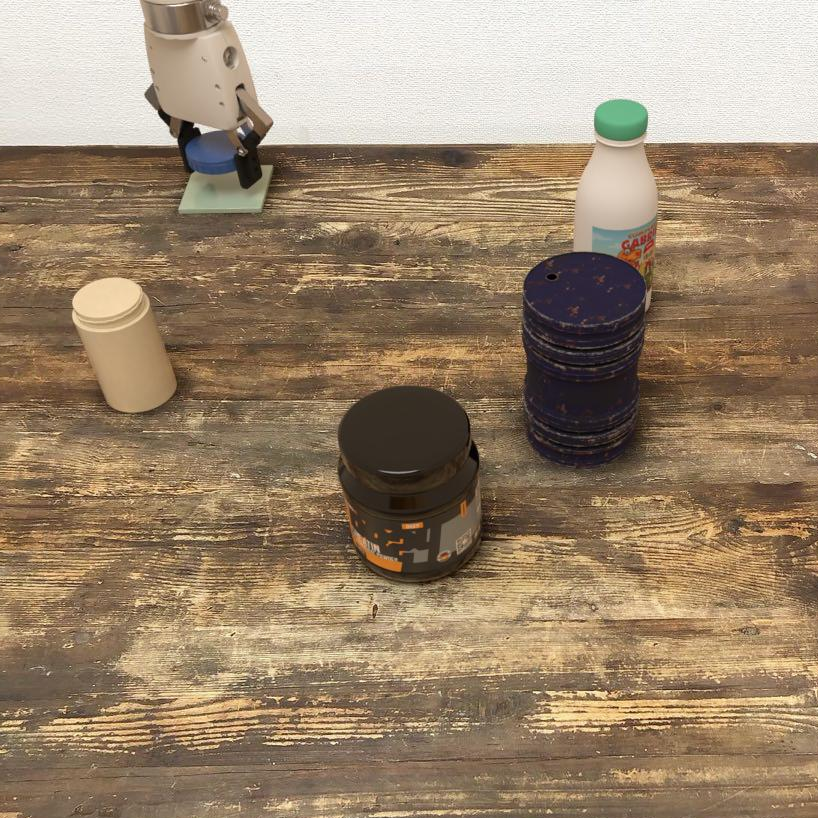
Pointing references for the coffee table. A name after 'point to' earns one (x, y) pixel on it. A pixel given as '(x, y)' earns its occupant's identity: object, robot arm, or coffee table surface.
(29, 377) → the coffee table surface
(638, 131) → the milk bottle
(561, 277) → the storage jar
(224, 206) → the tile
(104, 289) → the beige jar
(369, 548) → the supplement container
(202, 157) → the lid
